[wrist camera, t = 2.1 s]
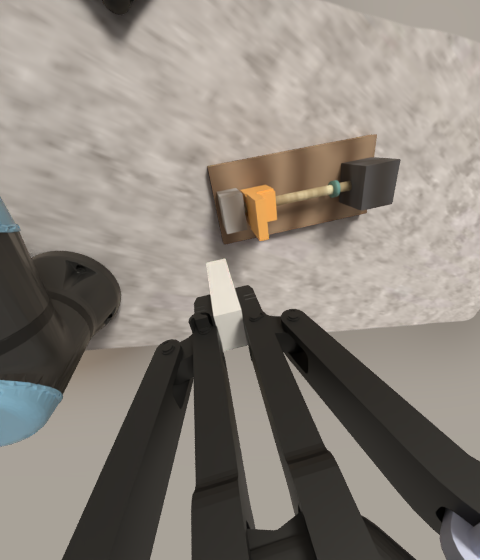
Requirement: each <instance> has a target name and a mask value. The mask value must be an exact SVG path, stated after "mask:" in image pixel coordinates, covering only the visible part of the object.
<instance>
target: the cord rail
mask: <svg viewBox="0 0 480 560" xmlns="http://www.w3.org/2000/svg"><path fill="white" fill-rule="evenodd" d="M376 138H377V134H376V135H367V136H361V137H356V138H351V139H346V140H341V141H335V142H330V143H325V144H320V145H315V146H310V147H304V148H299V149H294V150H289V151H284V152H278V153H273V154H268V155H263V156H258V157H252V158H247V159H242V160H237V161H232V162H226V163H221V164H216V165H211V166H207V167H208V172H209V177H210V182H211V186H212V191H213V196H214V201H215V206H216V210H217V215H218V220H219V225H220V230H221V234H222V239H223V243H224V244H229V243H233V242H238V241H242V240H247V239H251V238H256V235H255V234H254V233H253V231H252V230H251V226H250V225H249V224H248V223H247V221H246V215H245V213H246V212H247V208H246V202H245V201H244V200H243V195H242V193H241V192H240V190H242V189H247V188H252V187H257V186H262V185H267V186H269V187H271V188H273V190H274V191H275V196H276V210H277V220H274V221H270V222H267V223H268V234H269V235H270V234H274V233H279V232H283V231H288V230H292V229H297V228H301V227H306V226H310V225H315V224H319V223H324V222H328V221H333V220H337V219H342V218H346V217H351V216H355V215H360V214H364V213H367V209H371V208H376V207H380V206H385V205H389V204H392V202H393V197H394V191H395V186H396V181H397V175H398V170H399V165H400V159H390V158H375V157H374V153H375V145H376Z"/></svg>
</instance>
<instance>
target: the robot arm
mask: <svg viewBox="0 0 480 560" xmlns="http://www.w3.org/2000/svg"><path fill="white" fill-rule="evenodd" d="M19 231H21V230H20V227H19V226H18V225H17V224H15V222H14V221H13V219H12V217H11V215H10V213H9V212H8V210H7V208H6V206H5V204H4V203H3V201H2V199H1V197H0V447H2V446H6V445H10V444H13V443H16V442H19V441H22V440H24V439H26V438H28V437H30V436H32V435H33V434H35V433H36V432H37V431H38V430H39V429H41V428H42V427H43V426H44V425H45V424H46V423H47V421H48V419H49V418H50V416H51V415H52V413H53V412H54V410H55V408H56V407H57V405H58V404H59V403H60V402H61V400H62V398H63V396H62V395H63V393H64V391H65V389H66V387H67V385H68V383H69V381H70V379H71V377H72V375H73V373H74V371H75V369H76V367H77V365H78V363H79V361H80V358H81V357H82V355H83V353H84V351H85V349H86V347H87V345H88V343H89V341H90V339H91V337H92V336H93V335H94V334H96V333H97V332H98V331H99V330H100V329H102V328H103V327H104V326H105V325H106V324H107V323H109V322H110V321H111V319H112V318H113V317H114V315H115V314H116V311H117V309H118V307H119V304H120V301H121V291H120V287H119V284H118V282H117V280H116V279H115V277H114V276H113V275H112V273H111V272H110V271H109V270H108V269H107V268H106V267H104V266H103V265H102V264H100V263H99V262H97V261H95V260H94V259H92V258H89V257H87V256H85V255H82V254H78V253H74V252H68V251H51V252H45V253H42V254H39V255H36V256H34V257H33V258H31V257H30V255H29V253H28V250H27V248H26V246H25V244H24V241H23V239H22V237H21V235H20V232H19ZM206 266H207V273H208V280H209V288H210V295H206V296H202V297H198V298H197V299H196V300H195V302H194V308H195V309H194V312H195V314H194V315H192V316H191V317H190V319H189V324H190V327H191V330H192V333H193V334H192V335H191V336H190V337H189V338H187V339H185V340H183V341H181V342H180V343H179V341H177V340H173V339H171V340H167V341H165V342H163V343H162V344H160V345H159V346H158V348H157V349H156V351H155V353H154V355H153V358H152V360H151V362H150V364H149V367H148V369H147V371H146V373H145V375H144V378H143V380H142V382H141V384H140V387H139V389H138V391H137V393H136V395H135V398H134V400H133V402H132V404H131V407H130V409H129V411H128V413H127V416H126V418H125V420H124V422H123V424H122V427H121V429H120V431H119V433H118V436H117V438H116V440H115V442H114V445H113V447H112V449H111V452H110V454H109V456H108V458H107V460H106V462H105V465H104V467H103V469H102V471H101V474H100V476H99V478H98V480H97V483H96V485H95V487H94V490H93V492H92V494H91V496H90V498H89V500H88V503H87V505H86V507H85V509H84V511H83V514H82V516H81V518H80V520H79V523H78V525H77V527H76V529H75V532H74V534H73V536H72V538H71V540H70V543H69V545H68V547H67V549H66V552H65V554H64V556H63V558H62V560H150V556H151V553H152V548H153V544H154V540H155V535H156V532H157V528H158V524H159V520H160V515H161V511H162V507H163V503H164V499H165V495H166V491H167V487H168V482H169V478H170V474H171V470H172V465H173V462H174V457H175V453H176V449H177V445H178V441H179V437H180V433H181V428H182V425H183V420H184V416H185V411H186V408H187V404H188V400H189V396H190V392H191V387H192V383H193V377H194V415H195V416H194V419H195V465H196V466H195V467H196V487H195V491H194V493H193V496H192V506H191V525H192V526H191V527H192V528H191V532H192V560H416V559H415V558H414V557H413V556H411V555H410V554H409V553H408V552H407V551H406V550H404V549H403V548H402V547H401V546H400V545H399V544H398V543H396V542H395V541H394V540H393V539H392V538H391V537H390V536H388V535H387V534H386V533H385V532H384V531H383V530H381V529H380V528H379V527H378V526H377V525H375V524H374V523H373V522H371V521H370V520H368V519H367V518H365V517H363V516H361V514H360V512H359V510H358V508H357V506H356V503H355V501H354V499H353V497H352V495H351V493H350V490H349V488H348V486H347V484H346V482H345V479H344V477H343V475H342V473H341V471H340V469H339V466H338V464H337V462H336V461H335V458H334V457H333V455H332V454H331V452H330V451H328V450H327V449H326V447H325V445H324V444H323V441H322V439H321V437H320V435H319V432H318V431H317V428H316V425H315V423H314V421H313V419H312V417H311V414H310V412H309V410H308V407H307V405H306V403H305V401H304V399H303V396H302V394H301V392H300V390H299V387H298V385H297V383H296V380H295V379H294V376H293V374H292V372H291V369H290V367H289V365H288V362H287V360H286V358H285V356H284V354H283V352H284V353H285V355H286V356H287V357H288V359H289V360H290V361H291V362H292V363H293V364H294V366H295V367H296V368H297V370H299V372H300V373H301V374H302V376H303V377H304V378H305V379H306V380H307V382H308V383H309V384H310V385H311V387H312V388H313V389H314V390H315V391H316V393H317V394H318V395H319V396H320V398H321V399H322V400H323V401H324V402H325V404H326V405H327V406H328V407H329V409H330V410H331V411H332V412H333V413H334V415H335V416H336V417H337V418H338V419H339V421H340V422H341V423H342V424H343V426H344V427H345V428H346V429H347V431H348V432H349V433H350V434H351V435H352V437H354V439H355V440H356V442H357V443H358V444H359V445H360V446H361V448H362V449H363V450H364V451H365V452H366V454H367V455H368V456H369V457H370V459H371V460H372V461H373V462H374V463H375V465H376V466H377V467H378V468H379V469H380V471H381V472H382V473H383V474H384V476H385V477H386V478H387V479H388V481H389V482H390V483H391V484H392V485H393V487H394V488H395V489H396V490H397V492H398V493H399V494H400V495H401V496H402V497H403V498H404V500H405V501H406V502H407V503H408V504H409V505H410V506H411V508H412V509H413V510H414V511H415V512H416V513H417V514H418V515H419V516H420V517H421V518H422V519H423V520H424V521H425V522H426V523H427V524H428V525H429V526H430V527H431V528H432V529H433V530H435V531H436V532H437V533H438V534H439V535H440V542H441V547H442V550H443V553H444V555H445V557H446V559H447V560H480V461H478V460H476V459H475V458H473V457H471V456H470V455H468V454H467V453H466V452H465V451H464V450H462V449H461V448H460V447H459V446H458V445H457V444H455V443H454V442H453V441H452V440H451V439H450V438H449V437H447V436H446V435H445V434H444V433H443V432H441V431H440V430H439V429H438V428H437V427H436V426H435V425H433V424H432V423H431V422H430V421H429V420H428V419H426V418H425V417H424V416H423V415H422V414H421V413H419V412H418V411H417V410H416V409H415V408H414V407H413V406H411V405H410V404H409V403H408V402H407V401H405V400H404V399H403V398H402V397H401V396H400V395H398V393H396V392H395V391H394V390H393V389H392V388H391V387H389V386H388V385H387V384H386V383H385V382H384V381H382V380H381V379H380V378H379V377H378V376H377V375H375V374H374V373H373V372H372V371H371V370H370V369H369V368H367V367H366V366H365V365H364V364H363V363H361V362H360V361H359V360H358V359H357V358H356V357H355V356H353V355H352V354H351V353H350V352H349V351H348V350H347V349H345V348H344V347H343V346H342V345H341V344H340V343H338V342H337V341H336V340H335V339H334V338H333V337H331V336H330V335H329V334H328V333H327V332H326V331H325V330H323V329H322V328H321V327H320V326H319V325H318V324H316V323H315V322H314V321H313V320H312V319H311V318H309V317H308V316H307V315H306V314H305V313H304V312H302V311H300V310H297V309H289V310H286V311H284V312H283V313H282V315H281V316H269V315H267V314H265V312H263V311H262V309H261V307H260V304H259V302H258V300H257V297H256V295H255V293H254V291H253V288H251V287H250V286H248V285H246V286H242V287H238V288H234V285H233V282H232V278H231V275H230V272H229V269H228V266H227V262H226V259H221V260H216V261H212V262H208V263H206ZM247 345H248V346H249V351H250V356H251V360H252V362H253V365H254V369H255V372H256V376H257V380H258V383H259V387H260V390H261V394H262V397H263V400H264V404H265V408H266V411H267V415H268V418H269V421H270V425H271V429H272V432H273V436H274V439H275V443H276V446H277V450H278V453H279V456H280V460H281V463H282V467H283V471H284V474H285V478H286V482H287V485H288V489H289V492H290V496H291V500H292V505H293V509H294V513H295V516H294V517H293V518H292V519H291V520H289V521H288V522H287V523H286V524H284V525H283V526H282V527H281V528H279V529H278V530H274V531H273V530H257V529H255V525H254V519H253V515H252V510H251V506H250V501H249V495H248V489H247V484H246V478H245V472H244V466H243V461H242V454H241V449H240V443H239V437H238V431H237V425H236V420H235V413H234V408H233V402H232V396H231V390H230V384H229V378H228V372H227V367H226V361H225V357H224V353H223V351H227V350H231V349H235V348H239V347H243V346H247Z"/></svg>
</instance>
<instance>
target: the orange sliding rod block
mask: <svg viewBox="0 0 480 560" xmlns="http://www.w3.org/2000/svg"><path fill="white" fill-rule="evenodd" d="M240 192H241V193H242V195H243V200H244V201H245V202H246V208H247V212H246V213H245V215H246V221H247V223H248V224H249V225H250V226H251V230H252V231H253V233H254V234H255V235H256V237H257V238H258V239H259V241H263V240H268V239H269V234H268V223H267V222H270V221H274V220H277V210H276V196H275V191H274V190H273V188H271V187H269V186H267V185H262V186H257V187H252V188H247V189H242V190H240Z"/></svg>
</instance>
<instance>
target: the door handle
mask: <svg viewBox="0 0 480 560" xmlns="http://www.w3.org/2000/svg"><path fill="white" fill-rule="evenodd" d="M102 1H103V3H104V4H105V5H106V7H107V8H108V9H109V10H110V11H112V12H113V13H115V14H118V15H122V14H125V13H126V12H127V11H128V10H129V7H130V4H131V3H132V2H133V0H102Z"/></svg>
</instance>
